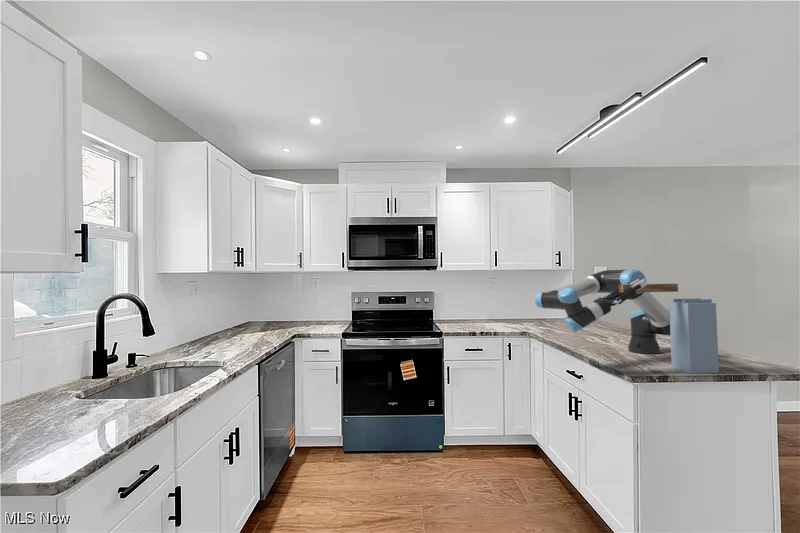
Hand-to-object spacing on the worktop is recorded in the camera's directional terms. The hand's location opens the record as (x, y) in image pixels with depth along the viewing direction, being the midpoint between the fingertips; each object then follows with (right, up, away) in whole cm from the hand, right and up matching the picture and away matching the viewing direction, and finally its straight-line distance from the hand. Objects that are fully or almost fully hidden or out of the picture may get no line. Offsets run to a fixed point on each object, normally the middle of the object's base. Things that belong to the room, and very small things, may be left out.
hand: (642, 281), depth 175 cm
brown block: (+2, -5, 0) cm, 5 cm away
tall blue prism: (+22, -39, -2) cm, 45 cm away
